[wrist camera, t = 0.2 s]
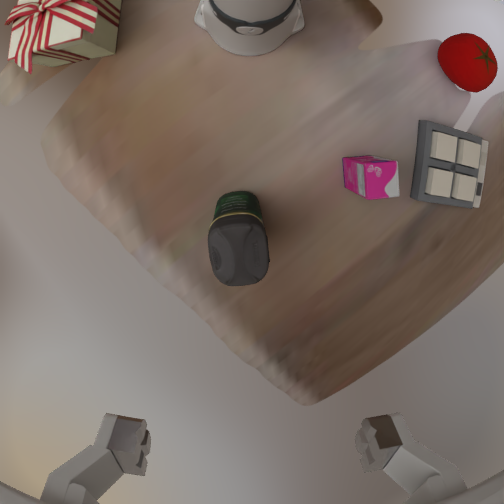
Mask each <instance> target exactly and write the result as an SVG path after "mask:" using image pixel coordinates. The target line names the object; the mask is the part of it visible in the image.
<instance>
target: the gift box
mask: <svg viewBox="0 0 504 504" xmlns="http://www.w3.org/2000/svg"><path fill="white" fill-rule="evenodd" d="M121 3H122V0H18V3H17V6H15V7H14V8H13V10H12V12H11V13H10V15H9V17H8V19H7V21H6V23H5V25H9V24H10V23H11V22H12V21H13V20H14V21H13V26H12V32H11V39H10V46H9V53H8V61H10V62H15V63H16V64H17V65H18V66H20V67H21V68H23V69H24V70H26V71H27V72H29V73H30V74H32V63H35V64H40V65H45V66H50V67H56V66H60V65H64V64H69V63H76V62H79V61H82V60H89V59H92V58H98V57H104V56H110V55H114V54H115V51H116V42H117V33H118V26H119V19H120V10H121ZM9 22H10V23H9Z"/></svg>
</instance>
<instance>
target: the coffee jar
mask: <svg viewBox="0 0 504 504" xmlns="http://www.w3.org/2000/svg"><path fill="white" fill-rule="evenodd" d="M208 248H209V256H210V261H211V265H212V269H213V272H214V274H215V276H216V278H217V279H218V280H219V281H220V282H222V283H223V284H225V285H228V286H243V285H250V284H255V283H257V282H259V281H260V280H261V279H263V277H264V276H265V275H266V273H267V271H268V266H269V262H270V259H269V250H268V239H267V236H266V232H265V228H264V224H263V219H262V215H261V210H260V206H259V202H258V200H257V198H256V196H255V195H253V194H252V193H250V192H246V191H239V192H231V193H228V194H225V195H223V196H222V197H220V199H219V200H218V202H217V205H216V209H215V215H214V219H213V222H212V224H211V226H210V228H209V234H208Z"/></svg>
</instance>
